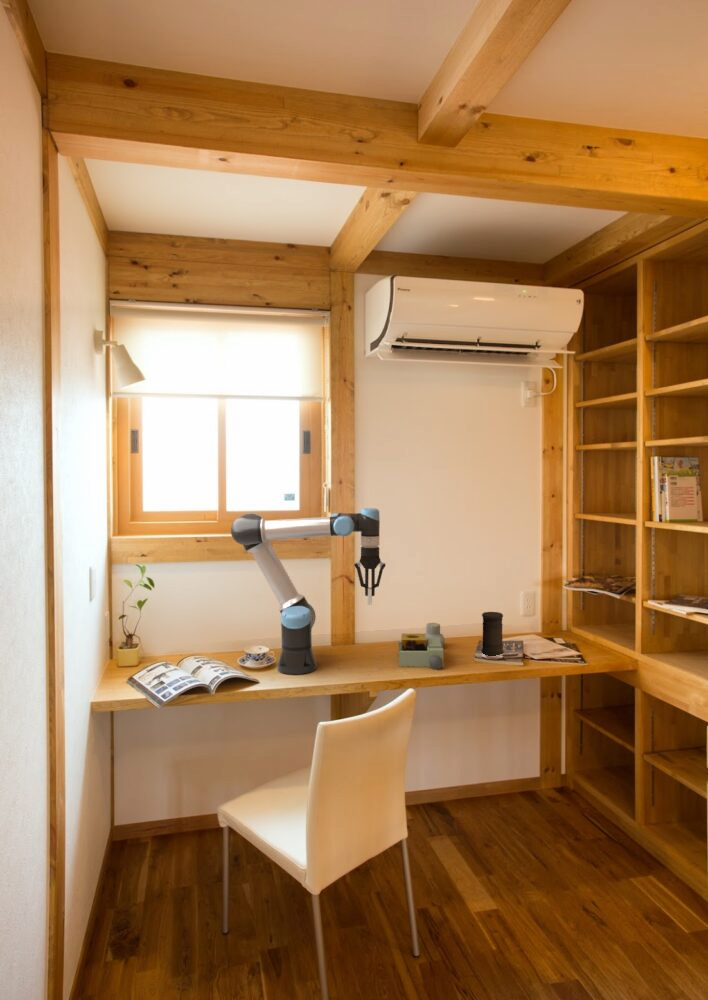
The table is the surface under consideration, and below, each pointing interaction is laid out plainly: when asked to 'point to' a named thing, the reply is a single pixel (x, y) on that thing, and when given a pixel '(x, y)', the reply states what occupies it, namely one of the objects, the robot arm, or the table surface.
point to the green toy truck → (423, 655)
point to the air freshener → (434, 632)
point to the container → (492, 633)
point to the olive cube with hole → (413, 642)
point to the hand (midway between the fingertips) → (369, 603)
